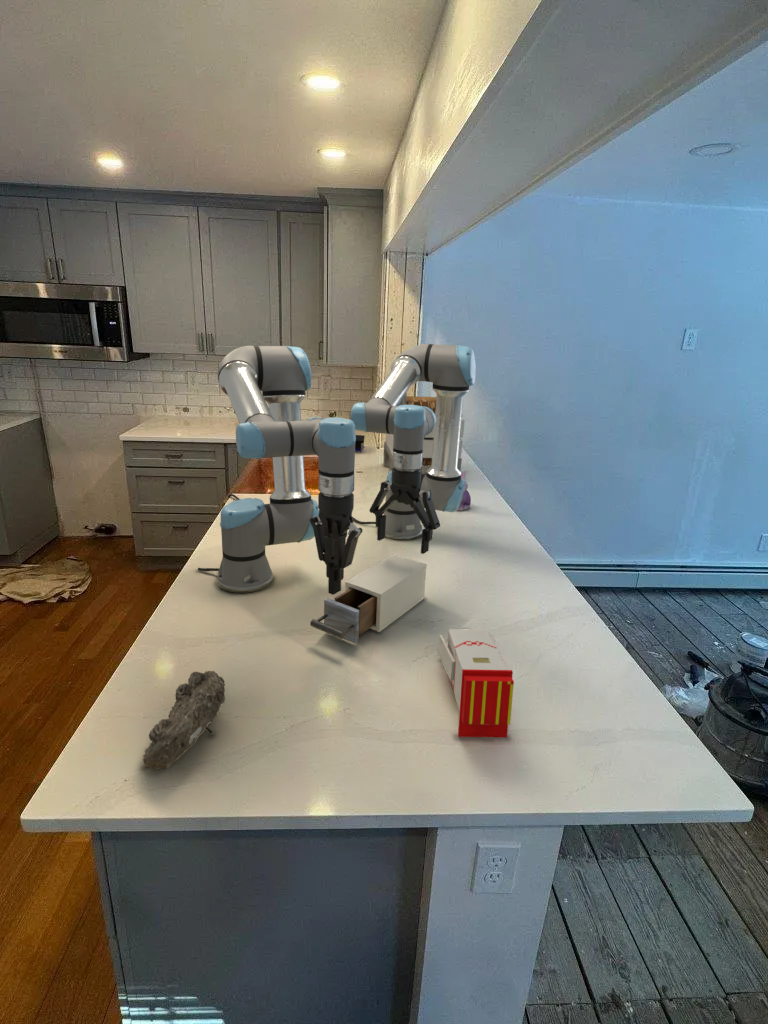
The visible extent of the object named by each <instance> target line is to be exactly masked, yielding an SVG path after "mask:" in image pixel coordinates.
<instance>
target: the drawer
mask: <svg viewBox="0 0 768 1024" xmlns="http://www.w3.org/2000/svg"><path fill="white" fill-rule="evenodd" d="M376 613H377V597H376V596H373V595H370V594H368V593H365V592H362V591H359V590H357V589H354V588H350V589H348V590H347V591H345V590H344V591H343V592H342V593H339V595H336V596H335V597H334V599H332V598H329V597H326V598H324V599H323V615H322V616H320V617H318V618H317V619H315V618H312V619H311V620H310V622H309V625H310V627H311V628H315V629H317V630H318V631H321V632H323V633H326V634H328V635H330V636H333V637H335V638H338V639H340V640H345V641H348V642H350V643H353V644H354V645H356V644H358V643H359V640H360V639H359V636H361V635H362V634H364V633H365V632H367V631H368V630H369V629H370V627H372V626H373V625H375V624H376ZM322 621H323V622H322Z"/></svg>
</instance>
